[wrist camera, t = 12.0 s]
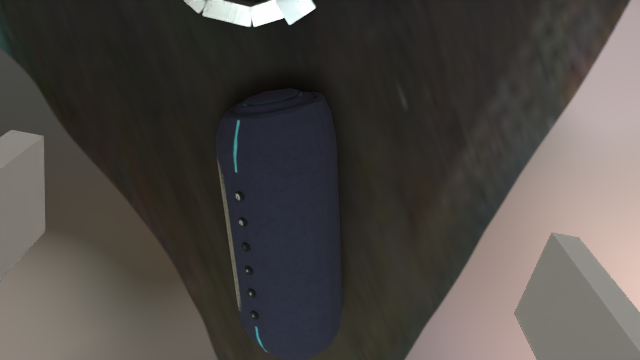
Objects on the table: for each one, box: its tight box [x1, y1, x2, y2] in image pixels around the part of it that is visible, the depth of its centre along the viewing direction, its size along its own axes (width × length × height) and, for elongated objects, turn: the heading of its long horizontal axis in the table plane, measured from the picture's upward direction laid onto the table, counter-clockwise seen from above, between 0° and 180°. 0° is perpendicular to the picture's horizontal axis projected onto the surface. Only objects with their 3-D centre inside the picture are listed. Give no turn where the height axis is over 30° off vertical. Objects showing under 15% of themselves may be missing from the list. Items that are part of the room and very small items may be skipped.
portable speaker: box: [215, 88, 343, 360], centre depth 48 cm, size 25×10×10 cm, turn 3°
